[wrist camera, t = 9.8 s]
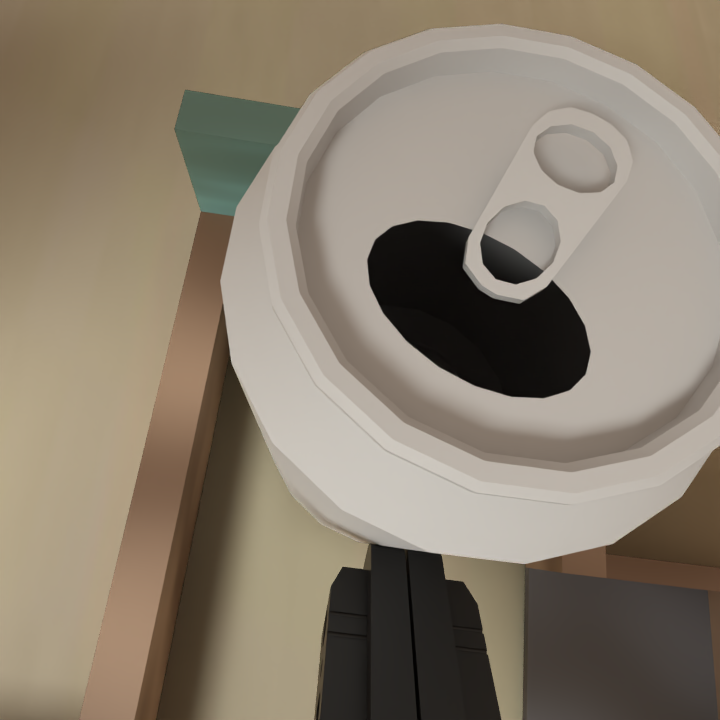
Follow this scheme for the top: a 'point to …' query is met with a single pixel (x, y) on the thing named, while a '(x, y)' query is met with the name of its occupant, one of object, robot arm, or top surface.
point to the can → (483, 296)
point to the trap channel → (542, 578)
